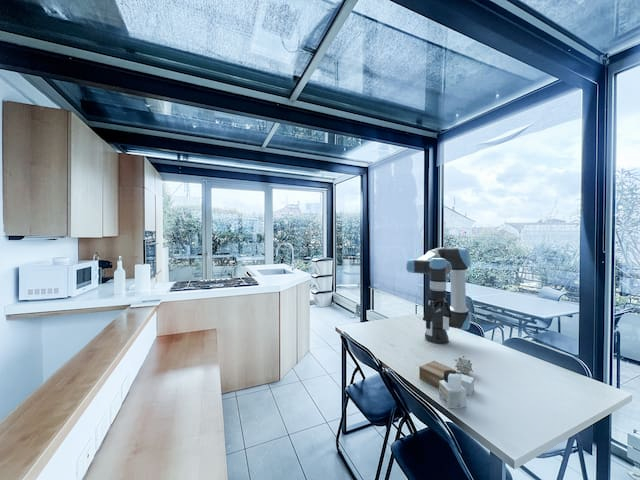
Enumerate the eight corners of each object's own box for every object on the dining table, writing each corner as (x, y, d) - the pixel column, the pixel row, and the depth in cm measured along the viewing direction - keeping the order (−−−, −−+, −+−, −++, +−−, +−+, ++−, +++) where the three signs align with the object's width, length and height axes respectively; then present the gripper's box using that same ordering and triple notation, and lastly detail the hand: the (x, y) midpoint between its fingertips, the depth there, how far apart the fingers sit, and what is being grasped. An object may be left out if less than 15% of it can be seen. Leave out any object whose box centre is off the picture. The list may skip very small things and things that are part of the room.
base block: (434, 372, 137) (434, 360, 137) (456, 382, 127) (456, 370, 127) (419, 378, 131) (419, 366, 131) (441, 390, 121) (441, 377, 121)
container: (438, 397, 115) (438, 368, 115) (455, 396, 116) (455, 367, 116) (448, 409, 108) (448, 377, 107) (466, 408, 108) (466, 376, 108)
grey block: (459, 385, 125) (459, 373, 125) (474, 390, 120) (474, 377, 120) (456, 391, 120) (456, 378, 120) (470, 396, 116) (470, 383, 116)
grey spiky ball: (469, 354, 140) (472, 357, 131) (473, 371, 138) (477, 376, 128) (451, 355, 143) (453, 358, 134) (455, 372, 140) (457, 377, 131)
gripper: (445, 285, 138) (445, 325, 139) (415, 290, 125) (414, 334, 125) (459, 288, 132) (459, 329, 132) (428, 293, 119) (428, 340, 119)
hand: (437, 332), depth 129 cm, fingers open, 13 cm apart
